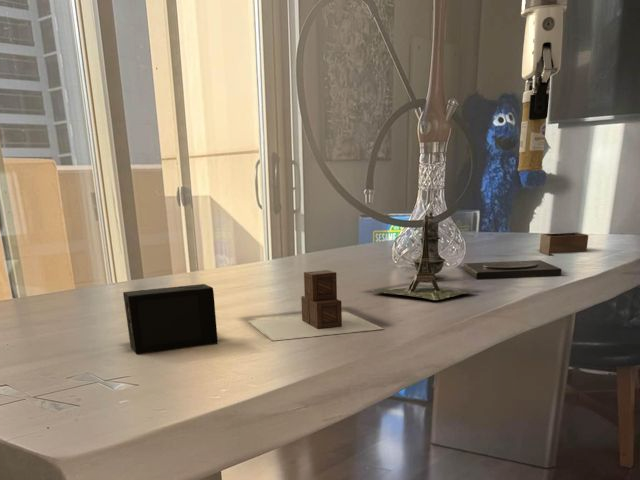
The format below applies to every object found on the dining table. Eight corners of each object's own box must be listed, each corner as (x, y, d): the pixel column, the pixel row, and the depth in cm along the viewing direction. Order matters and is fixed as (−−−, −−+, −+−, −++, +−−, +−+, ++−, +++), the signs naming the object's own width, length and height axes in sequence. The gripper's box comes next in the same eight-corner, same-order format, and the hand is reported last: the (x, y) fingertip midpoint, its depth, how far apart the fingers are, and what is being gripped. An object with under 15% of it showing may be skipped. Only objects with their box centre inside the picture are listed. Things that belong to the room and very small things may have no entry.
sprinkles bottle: (540, 170, 128) (548, 88, 123) (515, 171, 130) (521, 90, 125) (544, 170, 132) (551, 90, 127) (519, 171, 134) (525, 92, 129)
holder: (575, 250, 162) (577, 232, 160) (586, 253, 154) (588, 235, 153) (539, 252, 163) (540, 234, 161) (548, 255, 155) (550, 236, 154)
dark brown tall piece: (406, 280, 131) (408, 212, 126) (433, 277, 133) (435, 210, 128) (423, 283, 126) (425, 212, 121) (451, 280, 128) (454, 210, 123)
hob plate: (539, 266, 139) (540, 258, 138) (560, 275, 125) (561, 267, 125) (463, 269, 141) (464, 261, 140) (476, 279, 127) (476, 270, 126)
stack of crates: (247, 321, 100) (243, 272, 97) (345, 311, 103) (344, 263, 100) (272, 341, 86) (269, 284, 84) (384, 329, 90) (385, 274, 87)
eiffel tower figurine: (367, 294, 117) (366, 209, 111) (408, 287, 122) (410, 206, 117) (436, 303, 106) (439, 209, 100) (478, 294, 111) (483, 205, 106)
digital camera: (207, 336, 91) (202, 282, 88) (218, 344, 86) (213, 286, 84) (129, 346, 88) (121, 290, 85) (136, 354, 83) (127, 295, 81)
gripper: (580, -11, 113) (567, 115, 120) (554, 12, 128) (544, 122, 135) (533, -7, 113) (523, 118, 121) (512, 15, 129) (504, 125, 136)
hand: (534, 119), depth 128 cm, fingers closed on sprinkles bottle, 4 cm apart
